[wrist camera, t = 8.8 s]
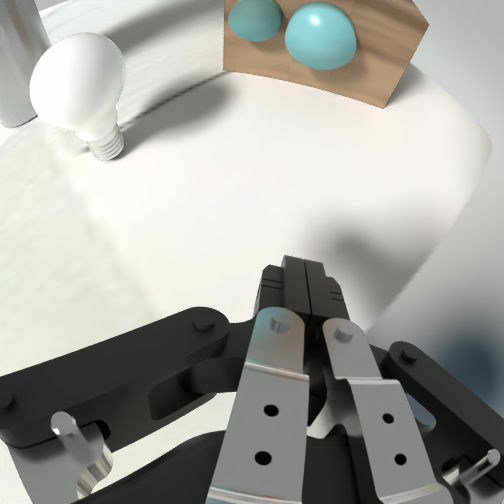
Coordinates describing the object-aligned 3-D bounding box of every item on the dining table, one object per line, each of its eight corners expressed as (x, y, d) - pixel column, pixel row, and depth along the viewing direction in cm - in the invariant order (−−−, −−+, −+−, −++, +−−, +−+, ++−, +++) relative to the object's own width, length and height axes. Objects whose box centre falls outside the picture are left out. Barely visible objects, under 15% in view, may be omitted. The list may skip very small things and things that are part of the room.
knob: (345, 77, 19) (365, 26, 14) (280, 61, 19) (290, 6, 14) (341, 13, 24) (351, -21, 19) (297, 2, 24) (304, -33, 19)
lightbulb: (72, 143, 21) (20, 49, 10) (137, 112, 22) (108, 6, 12) (83, 199, 19) (7, 98, 9) (158, 162, 20) (122, 38, 10)
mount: (384, 120, 24) (435, 33, 13) (218, 80, 24) (218, -24, 13) (374, 59, 28) (404, -9, 17) (245, 28, 28) (252, -48, 17)
